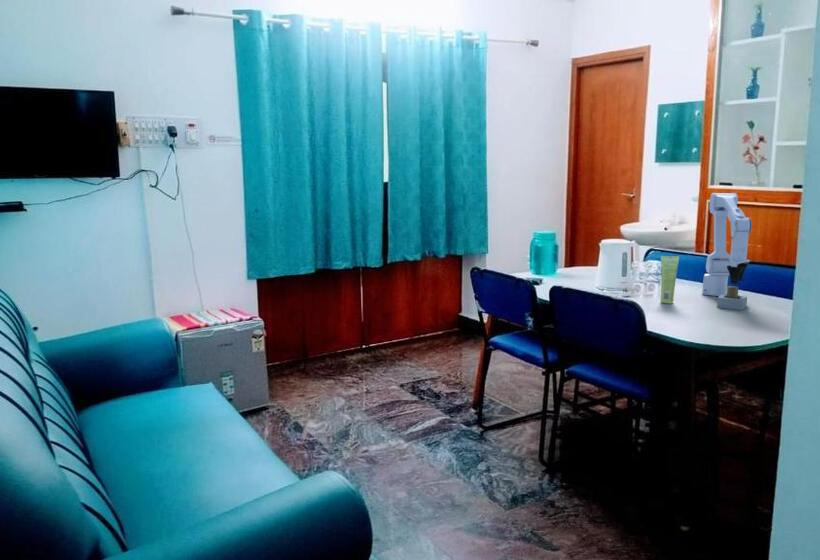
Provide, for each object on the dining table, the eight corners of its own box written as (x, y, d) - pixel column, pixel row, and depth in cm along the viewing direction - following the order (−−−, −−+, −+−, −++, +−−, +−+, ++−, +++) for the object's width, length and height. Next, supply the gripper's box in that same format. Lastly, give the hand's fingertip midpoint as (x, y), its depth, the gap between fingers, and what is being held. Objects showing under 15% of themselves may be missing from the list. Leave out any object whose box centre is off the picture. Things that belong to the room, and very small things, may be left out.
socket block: (716, 307, 253) (717, 297, 253) (722, 303, 260) (722, 293, 260) (741, 310, 248) (742, 300, 247) (746, 306, 255) (747, 296, 254)
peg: (724, 306, 254) (726, 287, 253) (727, 305, 257) (728, 285, 256) (735, 308, 251) (736, 288, 250) (738, 306, 254) (739, 286, 253)
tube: (664, 300, 266) (667, 254, 263) (676, 302, 263) (679, 256, 259) (657, 302, 263) (660, 256, 259) (669, 304, 259) (672, 257, 255)
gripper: (746, 251, 243) (743, 286, 245) (754, 247, 254) (751, 280, 256) (726, 250, 247) (723, 284, 249) (734, 245, 258) (732, 278, 261)
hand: (736, 282), depth 253 cm, fingers open, 7 cm apart
